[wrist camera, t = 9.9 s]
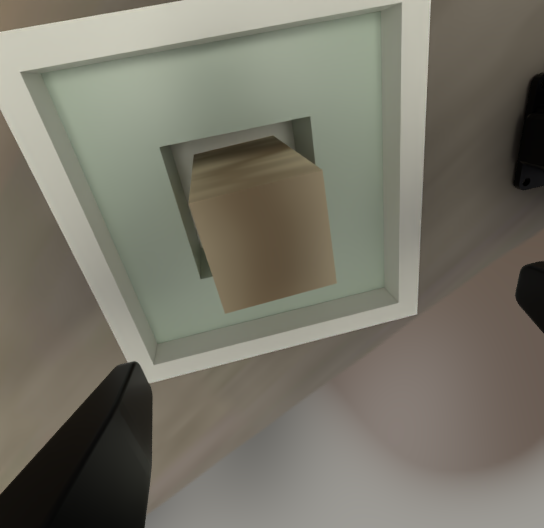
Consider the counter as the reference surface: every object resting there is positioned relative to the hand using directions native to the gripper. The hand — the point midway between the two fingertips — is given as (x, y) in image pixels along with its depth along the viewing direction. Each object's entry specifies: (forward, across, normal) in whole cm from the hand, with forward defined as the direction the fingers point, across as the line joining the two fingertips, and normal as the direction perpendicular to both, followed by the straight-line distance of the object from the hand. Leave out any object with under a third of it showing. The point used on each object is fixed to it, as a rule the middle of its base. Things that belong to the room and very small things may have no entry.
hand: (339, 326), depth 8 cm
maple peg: (+12, +1, 0) cm, 12 cm away
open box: (+13, +1, 0) cm, 13 cm away
